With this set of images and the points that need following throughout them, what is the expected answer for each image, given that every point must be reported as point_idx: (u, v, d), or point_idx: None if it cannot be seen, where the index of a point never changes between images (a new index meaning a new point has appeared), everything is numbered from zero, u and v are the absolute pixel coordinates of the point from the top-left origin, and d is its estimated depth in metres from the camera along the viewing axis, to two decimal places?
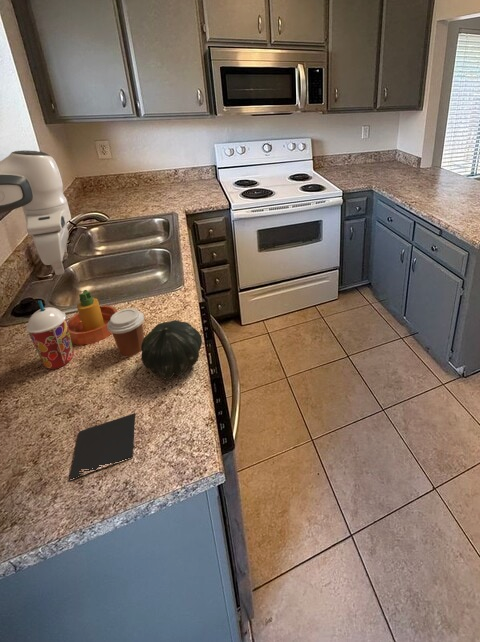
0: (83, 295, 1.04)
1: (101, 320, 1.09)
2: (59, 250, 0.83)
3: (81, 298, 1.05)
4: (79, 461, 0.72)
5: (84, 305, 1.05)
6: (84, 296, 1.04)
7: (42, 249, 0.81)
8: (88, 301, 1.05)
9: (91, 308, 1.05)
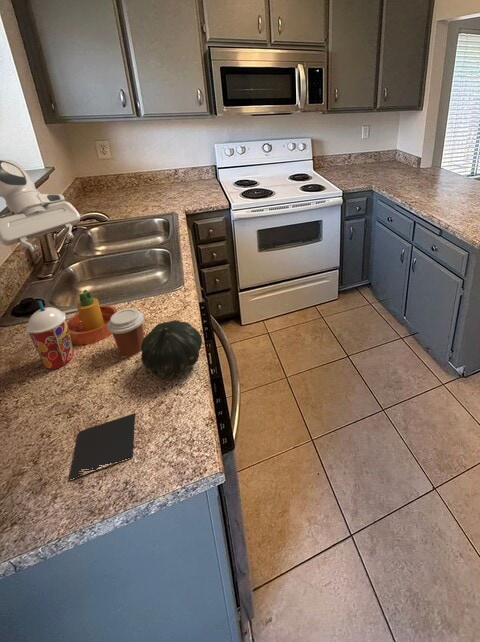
0: (83, 295, 1.04)
1: (101, 320, 1.09)
2: None
3: (81, 298, 1.05)
4: (79, 461, 0.72)
5: (84, 305, 1.05)
6: (84, 296, 1.04)
7: None
8: (88, 301, 1.05)
9: (91, 308, 1.05)
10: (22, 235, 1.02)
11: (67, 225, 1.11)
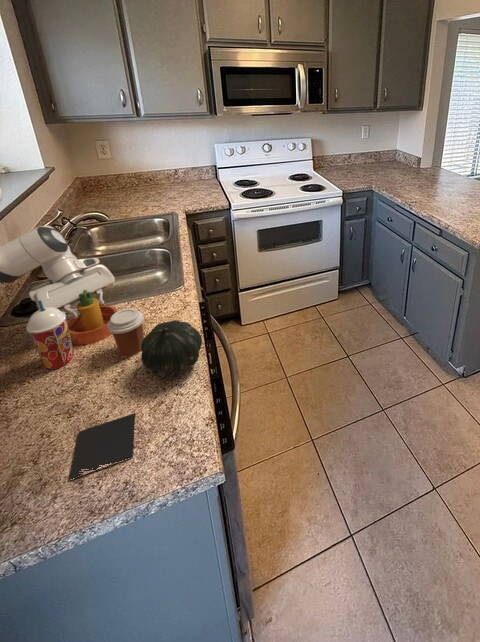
0: (83, 295, 1.04)
1: (101, 320, 1.09)
2: None
3: (81, 298, 1.05)
4: (79, 461, 0.72)
5: (84, 305, 1.05)
6: (84, 296, 1.04)
7: None
8: (88, 301, 1.05)
9: (91, 308, 1.05)
10: (61, 305, 1.02)
11: (98, 291, 1.10)
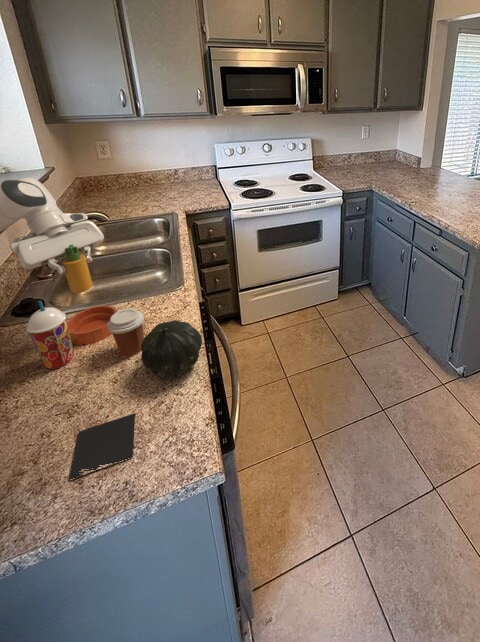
0: (69, 249, 0.97)
1: (88, 278, 1.02)
2: None
3: (67, 253, 0.98)
4: (79, 461, 0.72)
5: (70, 260, 0.98)
6: (70, 250, 0.98)
7: None
8: (74, 256, 0.98)
9: (77, 263, 0.98)
10: (45, 258, 0.95)
11: (85, 248, 1.04)
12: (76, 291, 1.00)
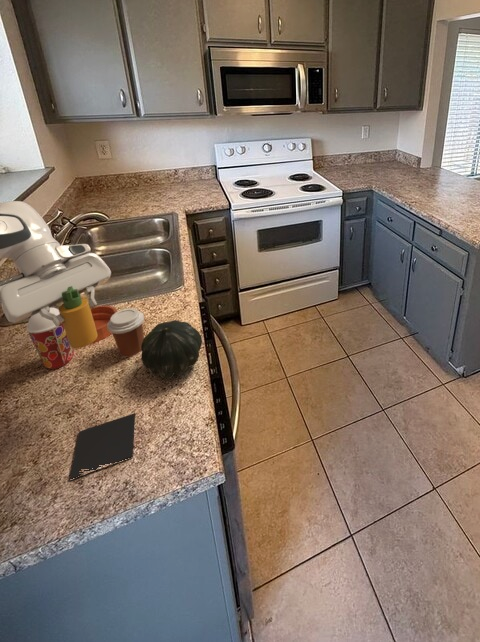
0: (67, 294, 0.76)
1: (92, 327, 0.80)
2: None
3: (64, 298, 0.77)
4: (79, 461, 0.72)
5: (69, 307, 0.76)
6: (68, 295, 0.76)
7: None
8: (74, 302, 0.77)
9: (78, 311, 0.77)
10: (36, 307, 0.74)
11: (88, 289, 0.82)
12: (77, 345, 0.79)
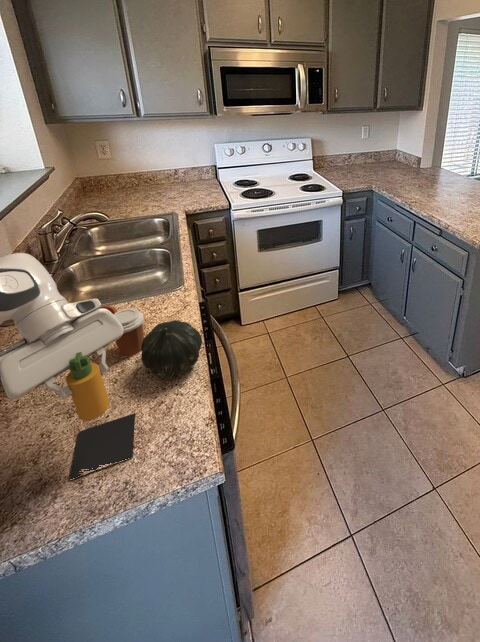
0: (75, 363, 0.66)
1: (104, 396, 0.71)
2: None
3: (72, 367, 0.67)
4: (79, 461, 0.72)
5: (78, 377, 0.67)
6: (77, 364, 0.67)
7: None
8: (83, 371, 0.67)
9: (88, 382, 0.67)
10: (40, 380, 0.64)
11: (99, 351, 0.73)
12: (87, 418, 0.70)
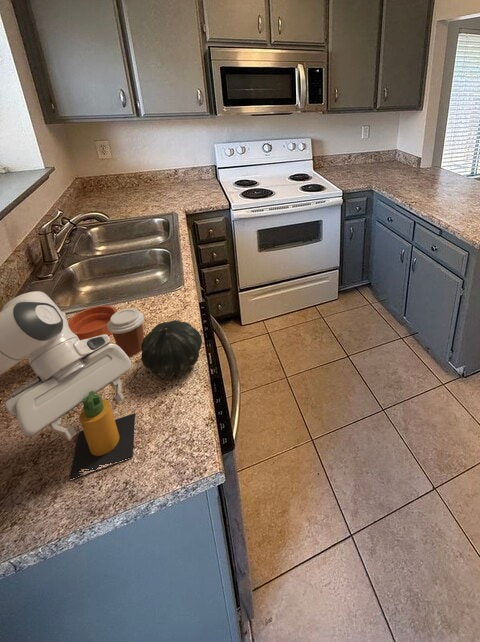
0: (89, 402, 0.70)
1: (114, 432, 0.75)
2: None
3: (86, 405, 0.71)
4: (79, 461, 0.72)
5: (90, 416, 0.71)
6: (90, 404, 0.70)
7: None
8: (96, 410, 0.71)
9: (100, 420, 0.71)
10: (54, 418, 0.68)
11: (115, 382, 0.77)
12: (98, 453, 0.73)
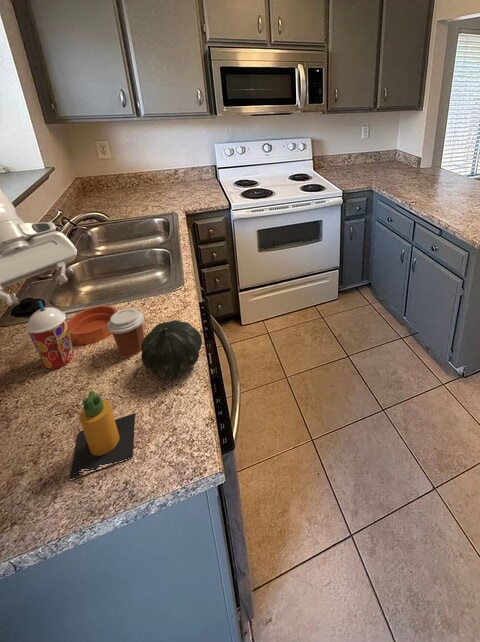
0: (89, 402, 0.70)
1: (114, 432, 0.75)
2: None
3: (86, 405, 0.71)
4: (79, 461, 0.72)
5: (90, 416, 0.71)
6: (90, 404, 0.70)
7: None
8: (96, 410, 0.71)
9: (100, 420, 0.71)
10: None
11: (59, 264, 0.82)
12: (98, 453, 0.73)
